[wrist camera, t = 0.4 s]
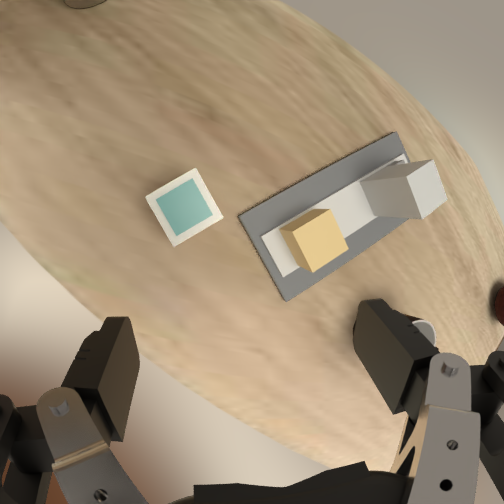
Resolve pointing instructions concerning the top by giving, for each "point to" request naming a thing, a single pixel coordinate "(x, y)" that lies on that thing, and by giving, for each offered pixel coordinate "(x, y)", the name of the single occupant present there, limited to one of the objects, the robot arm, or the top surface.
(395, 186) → the grey base with tower
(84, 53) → the top surface
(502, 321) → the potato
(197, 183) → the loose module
